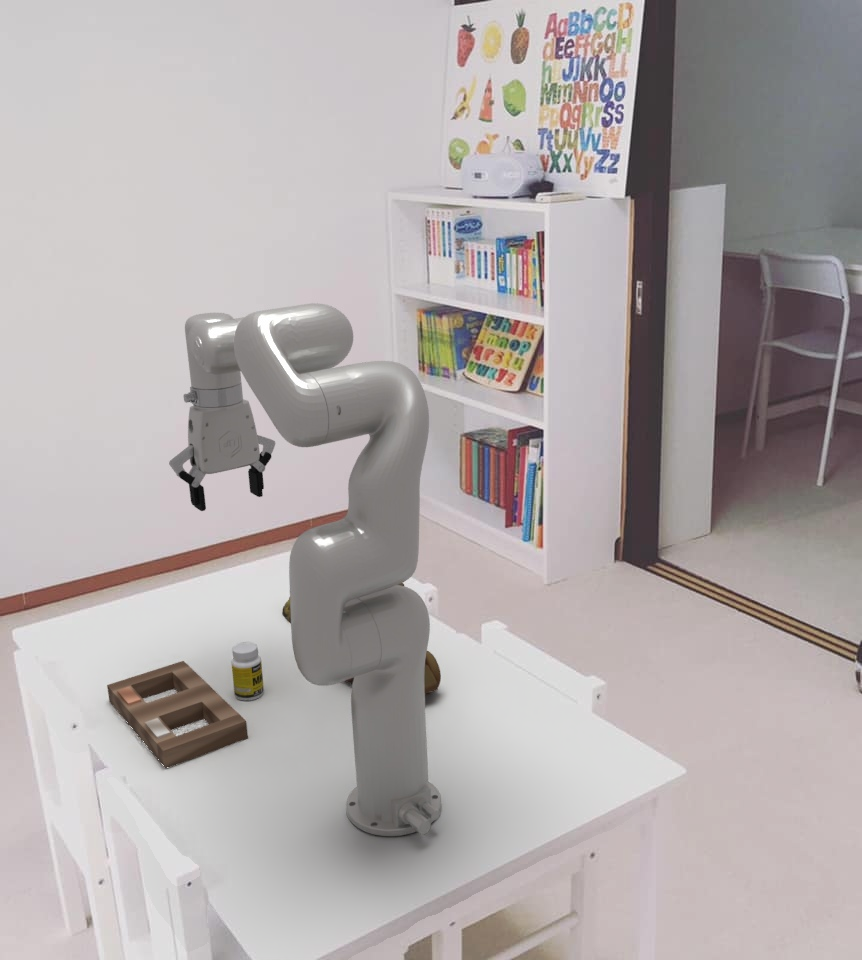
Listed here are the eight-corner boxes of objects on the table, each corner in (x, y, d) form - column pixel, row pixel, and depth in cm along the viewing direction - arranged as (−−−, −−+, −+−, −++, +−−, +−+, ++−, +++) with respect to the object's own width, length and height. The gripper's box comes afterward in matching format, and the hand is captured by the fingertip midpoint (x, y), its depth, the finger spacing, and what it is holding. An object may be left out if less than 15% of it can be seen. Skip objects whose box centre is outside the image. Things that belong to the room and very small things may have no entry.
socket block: (248, 738, 162) (246, 718, 161) (165, 768, 155) (162, 748, 154) (185, 676, 181) (183, 658, 180) (109, 701, 174) (106, 682, 173)
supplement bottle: (258, 702, 172) (253, 655, 169) (230, 700, 173) (225, 653, 170) (268, 687, 176) (263, 641, 174) (241, 685, 177) (236, 639, 175)
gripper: (173, 410, 157) (186, 521, 162) (279, 390, 166) (288, 495, 171) (154, 401, 163) (167, 507, 168) (258, 382, 172) (267, 484, 177)
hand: (228, 501), depth 170 cm, fingers open, 9 cm apart
